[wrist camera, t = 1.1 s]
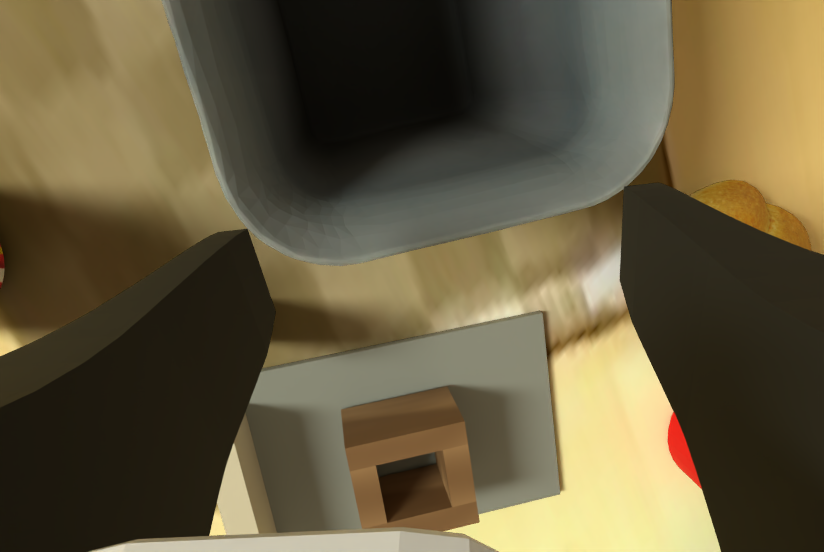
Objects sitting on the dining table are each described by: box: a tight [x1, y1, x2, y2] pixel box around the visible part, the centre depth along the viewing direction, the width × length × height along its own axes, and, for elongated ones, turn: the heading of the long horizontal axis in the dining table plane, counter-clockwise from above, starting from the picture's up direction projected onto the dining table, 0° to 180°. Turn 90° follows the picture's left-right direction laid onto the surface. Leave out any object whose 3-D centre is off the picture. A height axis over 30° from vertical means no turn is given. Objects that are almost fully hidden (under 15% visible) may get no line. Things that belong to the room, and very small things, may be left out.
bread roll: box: [690, 180, 811, 250], centre depth 33 cm, size 8×9×4 cm
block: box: [341, 386, 479, 531], centre depth 32 cm, size 6×6×4 cm
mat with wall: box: [217, 311, 560, 535], centre depth 32 cm, size 12×18×4 cm, turn 99°
